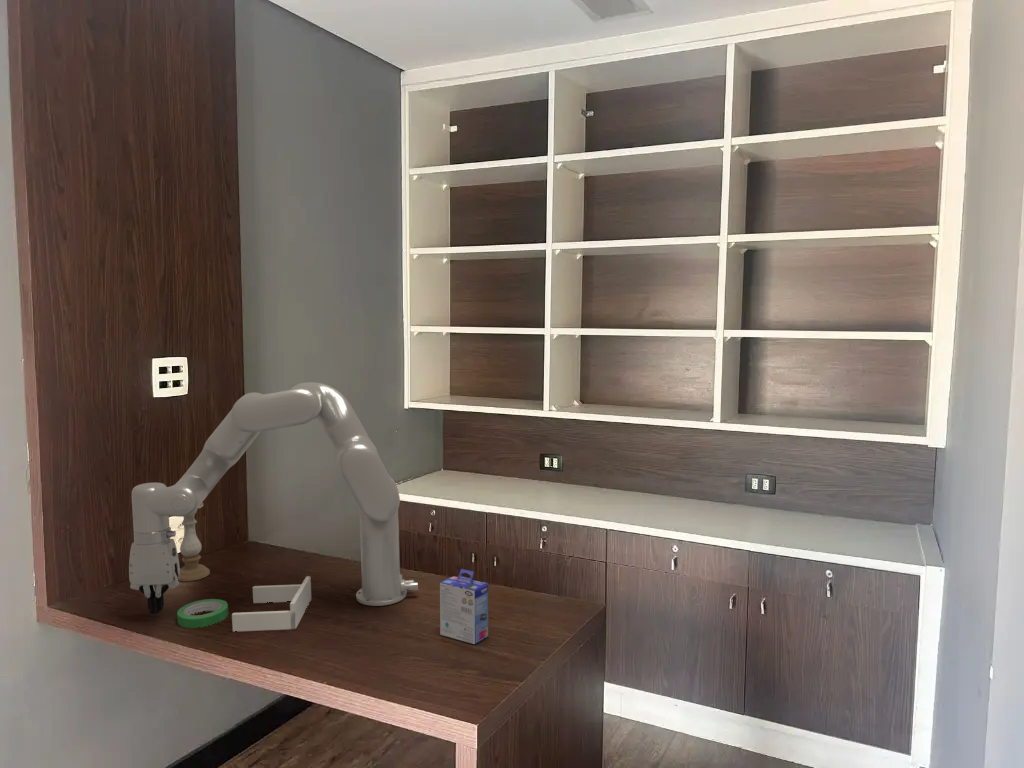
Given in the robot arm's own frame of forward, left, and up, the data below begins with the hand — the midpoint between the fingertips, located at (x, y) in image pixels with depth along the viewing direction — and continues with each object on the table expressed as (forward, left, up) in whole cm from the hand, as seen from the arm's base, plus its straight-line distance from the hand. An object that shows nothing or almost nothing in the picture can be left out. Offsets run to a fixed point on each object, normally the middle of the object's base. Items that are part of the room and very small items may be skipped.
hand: (156, 611), depth 169 cm
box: (-27, 0, -2) cm, 27 cm away
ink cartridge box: (-73, +15, -2) cm, 74 cm away
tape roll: (-11, 0, -2) cm, 11 cm away
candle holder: (+2, -29, -2) cm, 29 cm away
